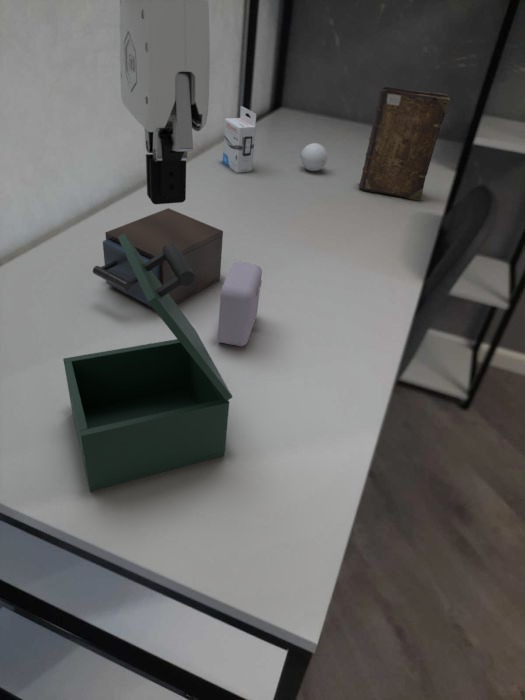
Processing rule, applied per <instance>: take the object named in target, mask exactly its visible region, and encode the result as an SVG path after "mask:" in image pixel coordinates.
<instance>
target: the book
mask: <svg viewBox="0 0 525 700" xmlns="http://www.w3.org/2000/svg"><path fill="white" fill-rule="evenodd" d="M450 100H451V98H450V97H449V96H448V94H446V93H441V92H427V91H419V90H412V89H401V88H398V87H397V88H396V87H389V86H383V87H381V88H380V89H379V94H378V99H377V105H376V106H375V112H374V118H373V122H372V125H371V126H372V127H371V132H370V136H369V138H368V145H367V151H366V153H365V159H364V163H363V167H362V173H361V177H360V182H359V184H358V187H359V188H360V189H361V190H363V191H366V192H371V193H378V194H383V195H390V196H395V197H400V198H405V199H409V200H414V201H421V199H422V197H423V192H424V188H425V183H426V177H427V175H428V171H429V168H430V164H431V161H432V158H433V154H434V150H435V148H436V143H437V140H438V137H439V134H440V131H441V126H442V124H443V122H444V119H445V116H446V114H447V110H448V107H449V104H450Z"/></svg>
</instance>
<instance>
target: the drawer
mask: <svg viewBox="0 0 525 700" xmlns="http://www.w3.org/2000/svg"><path fill="white" fill-rule="evenodd" d="M102 250H103V261H104V265H102V266H99V265H95V266H94V267H93V269H92V273H93V274H94V275H95V276H98V277H99V278H101V279H103V280H104V281H105V282H106V285H108V286H111V287H113V288H115V289H117V290H118V291H120V292H122V293H124V294H126V295H127V296H130V297H132V298H134V299H135V300H137V301H139V302H141V303H143V304H144V305H146V306H148V307H150V308H152V309H153V307H152V306H151V305H150V304H149V302H148V300H147V298H146V296H145V294H144V292H143V290H142V288H141V286H140V283H139V281H138V279H137V277H136V275H135V273H134V271H133V269H132V267H131V264H130V262H129V260H128V258H127V256H126V254H125V252H124V250H123V248H122V246H121V244H120V243H115V242H113V241H111V240H109V239H107V240H106V239H104V240H102ZM139 254H140V253H139ZM140 256H141V257H142V258H143V260H144V261H145V262H147V261H149V260H150V259H151V258H149V257H147V256H145V255H142V254H140ZM151 271H152V272H153V273H154V275H155V276H156V277H157V279H158V280H159V281H160V265H158V266H156V267H155V268H153V269H152V270H151Z"/></svg>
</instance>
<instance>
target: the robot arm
mask: <svg viewBox="0 0 525 700" xmlns="http://www.w3.org/2000/svg"><path fill="white" fill-rule="evenodd" d="M209 8H210V7H209V0H119V63H120V64H119V67H120V68H119V69H120V72H119V73H120V97H121V101H122V105H124V107H125V108H126V109H127V110H128V112H129V113H130V115H132V116H133V117H134V119H136V121H137V122H138V123H139V125H141V126H142V127H143V128H144V143H145V151H146V154H145V169H146V170H145V171H146V195H147V197H148V199H150V201H151V203H152V204H153V205H167V204H180V203H184V202H185V201H186V199H187V197H186V195H187V194H186V193H187V160H188V153H189V152H192V151H193V150H194V139H193V130H194V131H196V132H200V131H202V130H203V129H204V127H206V125H207V121H208V114H209V113H208V112H209V103H210V102H209V99H210V61H211V60H210V50H211V49H210V9H209Z"/></svg>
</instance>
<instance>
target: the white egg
mask: <svg viewBox="0 0 525 700" xmlns="http://www.w3.org/2000/svg"><path fill="white" fill-rule="evenodd" d="M300 160H301V164H302V165H303V167H304V168H305V169H306V170H308V171H310V172H318V171H320V170H322V169H323V168H324V167H325V165H326V164H327V161H328V153H327V149H326V148H325V146H324V145H322V144H320V143H317V142H313V143H309V144H307V145H306V146H305V147H304V148H303V149H302V151H301V154H300Z"/></svg>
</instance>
